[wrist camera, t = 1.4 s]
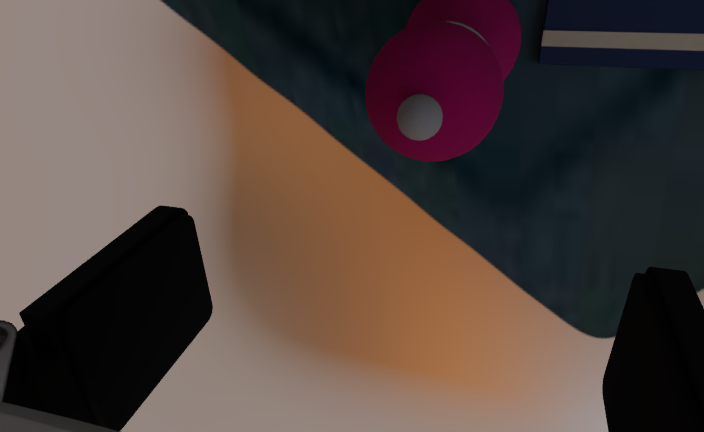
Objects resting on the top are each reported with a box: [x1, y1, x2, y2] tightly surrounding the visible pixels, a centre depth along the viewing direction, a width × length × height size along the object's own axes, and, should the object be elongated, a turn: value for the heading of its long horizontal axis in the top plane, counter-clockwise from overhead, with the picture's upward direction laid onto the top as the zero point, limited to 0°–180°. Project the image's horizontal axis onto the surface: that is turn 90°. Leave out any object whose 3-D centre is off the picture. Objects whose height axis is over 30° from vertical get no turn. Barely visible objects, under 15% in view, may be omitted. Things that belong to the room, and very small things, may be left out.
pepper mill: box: [365, 0, 521, 162], centre depth 27 cm, size 7×7×20 cm
